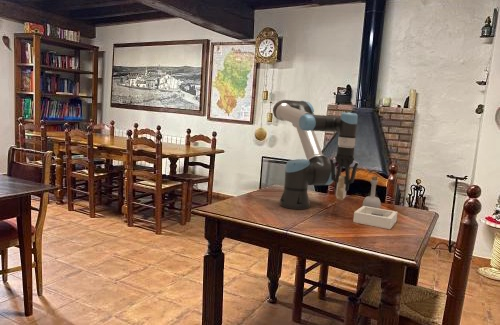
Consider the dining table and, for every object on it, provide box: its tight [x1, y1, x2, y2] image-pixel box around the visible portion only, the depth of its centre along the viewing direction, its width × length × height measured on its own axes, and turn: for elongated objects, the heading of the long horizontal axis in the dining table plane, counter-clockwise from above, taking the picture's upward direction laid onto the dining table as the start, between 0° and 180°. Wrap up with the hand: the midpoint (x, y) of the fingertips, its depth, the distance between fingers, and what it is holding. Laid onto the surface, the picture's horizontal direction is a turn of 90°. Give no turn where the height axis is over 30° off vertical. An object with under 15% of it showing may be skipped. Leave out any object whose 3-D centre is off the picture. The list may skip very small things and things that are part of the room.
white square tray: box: [352, 205, 398, 230], centre depth 166 cm, size 16×16×4 cm
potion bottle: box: [362, 175, 382, 209], centre depth 185 cm, size 9×9×18 cm
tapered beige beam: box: [336, 174, 346, 201], centre depth 173 cm, size 2×4×11 cm, turn 149°
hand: (340, 196), depth 173 cm, fingers closed on tapered beige beam, 2 cm apart
